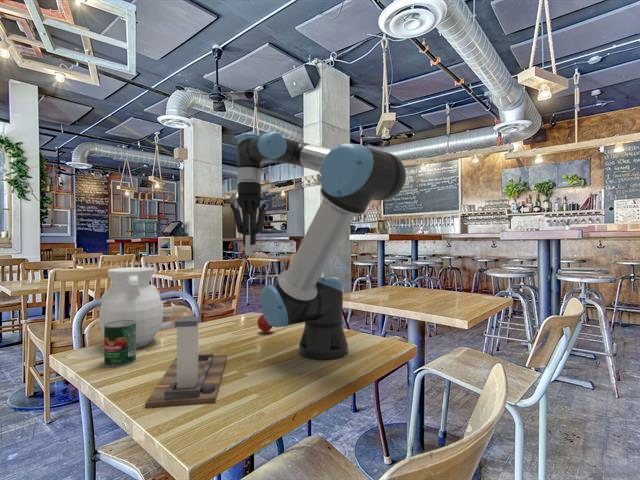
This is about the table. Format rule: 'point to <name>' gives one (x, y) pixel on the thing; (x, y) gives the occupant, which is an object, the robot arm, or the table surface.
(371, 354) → the table surface
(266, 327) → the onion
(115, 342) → the canned tomato
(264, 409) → the table surface
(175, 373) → the brown board with rails
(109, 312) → the pitcher
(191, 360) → the grey rectangular block
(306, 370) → the table surface
